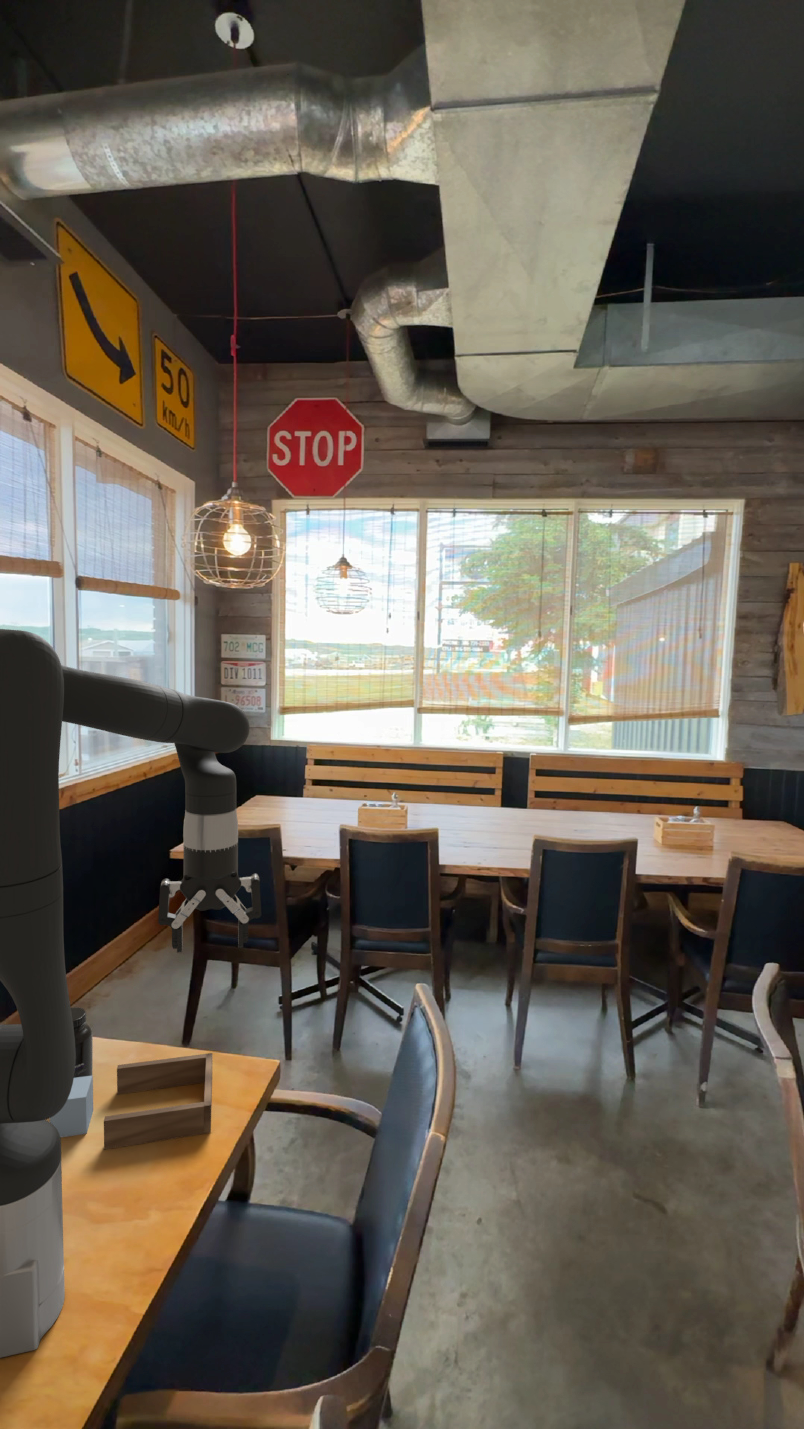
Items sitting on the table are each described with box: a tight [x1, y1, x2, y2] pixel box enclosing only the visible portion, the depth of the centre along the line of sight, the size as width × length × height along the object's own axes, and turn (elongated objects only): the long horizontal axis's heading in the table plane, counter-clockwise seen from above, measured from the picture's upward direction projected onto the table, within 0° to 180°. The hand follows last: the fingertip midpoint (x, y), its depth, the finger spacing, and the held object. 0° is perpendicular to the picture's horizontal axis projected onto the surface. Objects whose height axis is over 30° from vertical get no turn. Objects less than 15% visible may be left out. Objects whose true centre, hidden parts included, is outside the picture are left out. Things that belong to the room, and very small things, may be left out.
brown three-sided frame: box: [103, 1052, 213, 1150], centre depth 103 cm, size 13×15×4 cm
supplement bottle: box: [71, 1006, 94, 1078], centre depth 109 cm, size 7×7×12 cm
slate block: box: [49, 1075, 94, 1139], centre depth 100 cm, size 5×5×6 cm
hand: (210, 947), depth 95 cm, fingers open, 8 cm apart
